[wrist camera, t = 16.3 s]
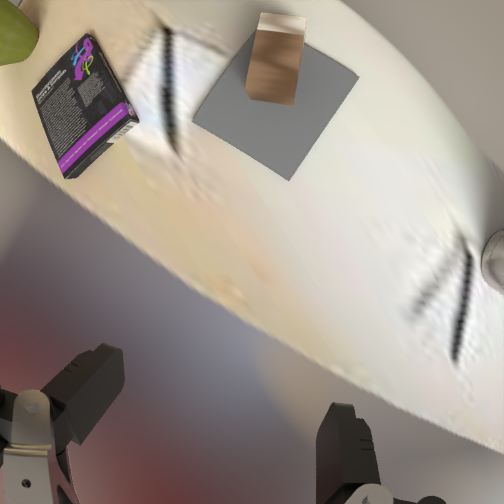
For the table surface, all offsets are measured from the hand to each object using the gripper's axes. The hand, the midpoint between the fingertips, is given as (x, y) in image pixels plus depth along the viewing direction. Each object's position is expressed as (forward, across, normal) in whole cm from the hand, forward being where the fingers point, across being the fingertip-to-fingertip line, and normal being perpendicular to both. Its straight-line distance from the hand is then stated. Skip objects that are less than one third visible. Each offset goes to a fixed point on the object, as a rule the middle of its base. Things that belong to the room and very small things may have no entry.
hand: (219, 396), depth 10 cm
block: (+25, +3, -16) cm, 30 cm away
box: (+29, +32, -15) cm, 45 cm away
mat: (+28, +3, -17) cm, 33 cm away
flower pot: (+28, +53, -29) cm, 67 cm away
